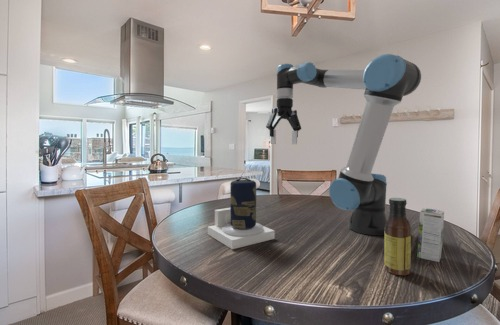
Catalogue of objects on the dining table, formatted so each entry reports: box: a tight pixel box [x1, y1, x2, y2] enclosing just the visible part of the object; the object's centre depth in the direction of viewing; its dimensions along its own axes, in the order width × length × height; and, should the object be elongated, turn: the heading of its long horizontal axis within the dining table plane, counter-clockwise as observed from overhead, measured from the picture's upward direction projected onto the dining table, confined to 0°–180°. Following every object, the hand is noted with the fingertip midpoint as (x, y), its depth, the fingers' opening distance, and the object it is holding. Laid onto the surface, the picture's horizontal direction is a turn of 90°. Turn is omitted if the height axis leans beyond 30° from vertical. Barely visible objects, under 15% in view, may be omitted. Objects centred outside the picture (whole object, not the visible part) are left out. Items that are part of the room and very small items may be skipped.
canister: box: [229, 177, 257, 229], centre depth 97 cm, size 10×10×18 cm
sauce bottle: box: [383, 197, 412, 276], centre depth 71 cm, size 6×6×20 cm
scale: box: [207, 207, 276, 250], centre depth 99 cm, size 18×18×9 cm
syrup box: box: [416, 207, 445, 263], centre depth 81 cm, size 6×6×14 cm
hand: (284, 144), depth 126 cm, fingers open, 13 cm apart
